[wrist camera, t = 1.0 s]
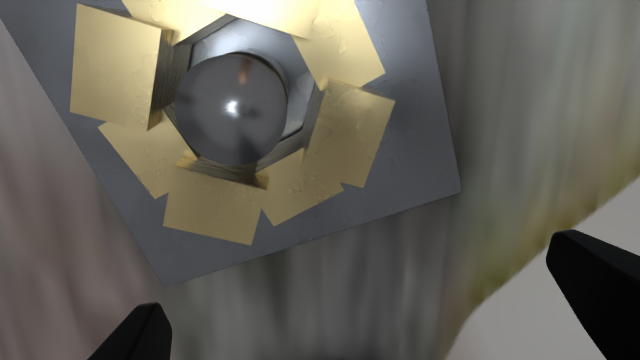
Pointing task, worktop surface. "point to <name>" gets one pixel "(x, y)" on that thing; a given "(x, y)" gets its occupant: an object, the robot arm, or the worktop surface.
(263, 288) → the worktop surface
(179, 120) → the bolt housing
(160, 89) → the copper cylinder with bracket
